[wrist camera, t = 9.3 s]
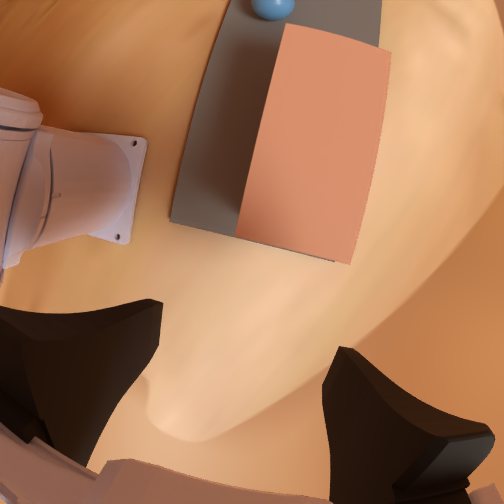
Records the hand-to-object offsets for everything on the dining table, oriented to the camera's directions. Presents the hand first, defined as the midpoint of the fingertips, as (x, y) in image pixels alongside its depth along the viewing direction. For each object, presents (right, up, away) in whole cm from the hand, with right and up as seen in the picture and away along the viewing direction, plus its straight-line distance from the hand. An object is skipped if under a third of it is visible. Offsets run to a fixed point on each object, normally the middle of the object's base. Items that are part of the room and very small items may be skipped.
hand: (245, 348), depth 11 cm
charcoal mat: (+3, +17, +6) cm, 18 cm away
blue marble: (+2, +21, +5) cm, 22 cm away
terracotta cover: (+4, +10, +7) cm, 13 cm away
